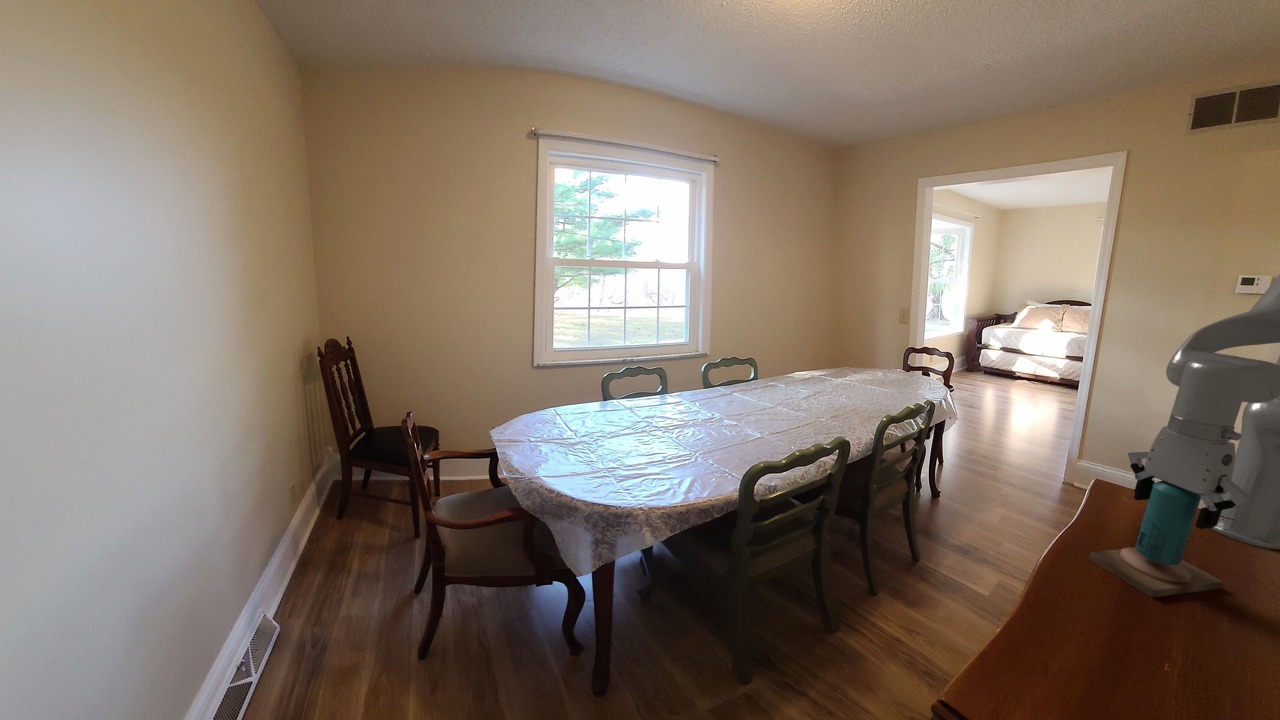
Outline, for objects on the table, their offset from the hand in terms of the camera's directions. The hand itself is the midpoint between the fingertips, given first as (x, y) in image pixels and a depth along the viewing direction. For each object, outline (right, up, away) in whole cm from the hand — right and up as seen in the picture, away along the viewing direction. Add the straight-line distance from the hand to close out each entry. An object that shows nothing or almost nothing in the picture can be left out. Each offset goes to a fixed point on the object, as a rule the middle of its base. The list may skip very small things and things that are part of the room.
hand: (1171, 512), depth 91 cm
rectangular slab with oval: (0, -13, +3) cm, 13 cm away
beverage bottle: (0, -11, +3) cm, 11 cm away
